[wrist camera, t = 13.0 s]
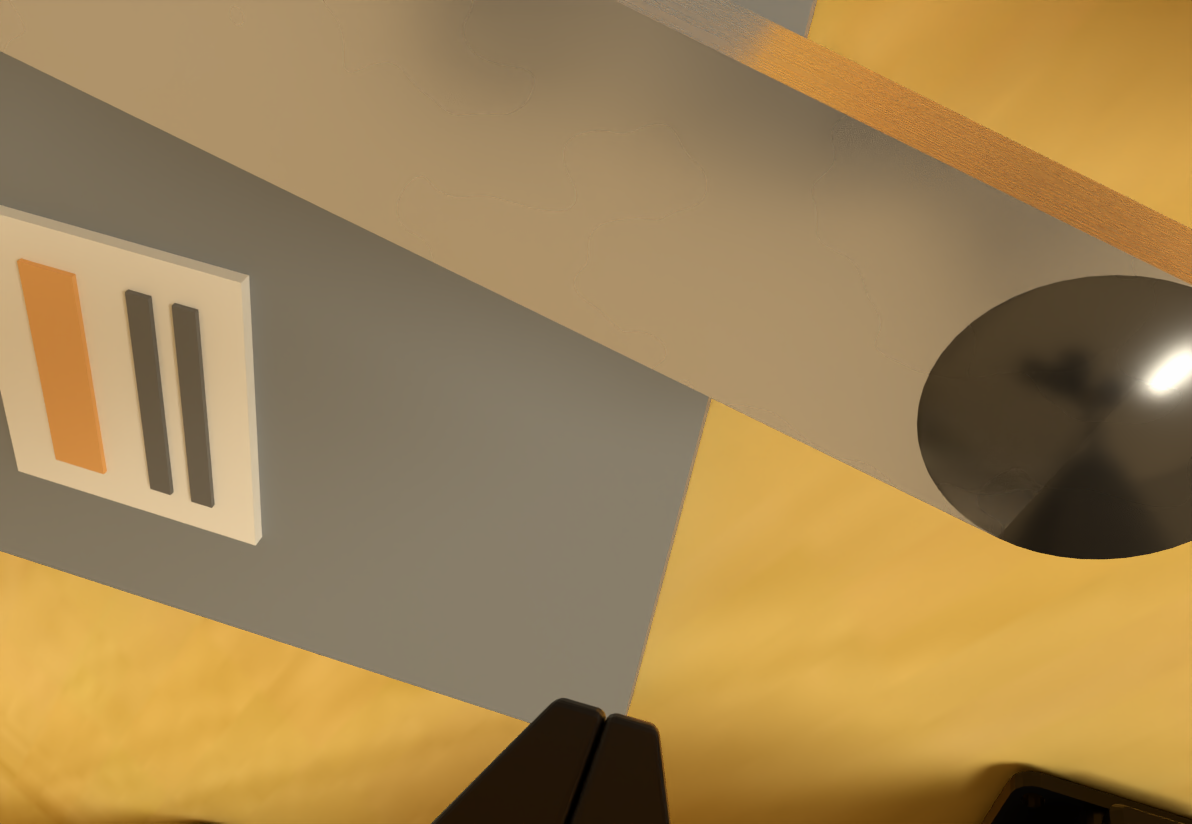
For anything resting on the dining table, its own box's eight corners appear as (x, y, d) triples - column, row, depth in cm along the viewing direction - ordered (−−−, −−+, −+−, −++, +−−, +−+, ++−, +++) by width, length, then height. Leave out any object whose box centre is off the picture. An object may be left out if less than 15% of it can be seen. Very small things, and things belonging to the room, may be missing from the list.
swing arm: (-194, -158, 16) (-478, -98, 13) (-223, -498, 13) (-583, -525, 10) (1118, 484, 16) (1152, 695, 13) (1327, 269, 14) (1430, 467, 11)
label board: (630, 702, 28) (593, 822, 25) (-82, 475, 30) (-186, 562, 28) (912, -361, 15) (898, -351, 12) (-407, -617, 17) (-672, -656, 14)
